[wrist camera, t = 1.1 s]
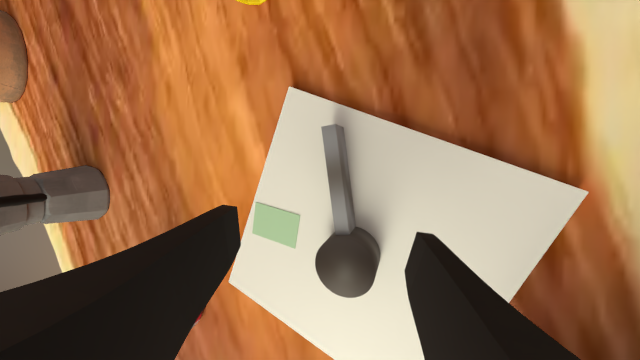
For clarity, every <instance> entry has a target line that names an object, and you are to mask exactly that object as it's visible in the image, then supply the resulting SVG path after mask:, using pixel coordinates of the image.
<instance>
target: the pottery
mask: <svg viewBox="0 0 640 360" xmlns="http://www.w3.org/2000/svg"><path fill="white" fill-rule="evenodd" d="M27 78H28V59H27V51H26V46H25V42H24V39H23V35H22V32H21V30H20V28H19V26H18V25H17V23H16V21H15V20H14V19H13V18H12V17H11V16H10V15H9V14H8V13H7V12H4V11H1V10H0V102H9V103H13V102H15V101H17V100H19V99H20V98H21V96H22V94H23V93H24V91H25V87H26V83H27Z"/></svg>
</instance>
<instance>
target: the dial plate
mask: <svg viewBox="0 0 640 360" xmlns="http://www.w3.org/2000/svg"><path fill="white" fill-rule="evenodd" d="M333 124H337V125H339V126H342V127H344V134H345V142H346V150H347V159H348V167H349V175H350V183H351V191H352V199H353V207H354V215H355V223H356V227H359V228H362V229H364V230H366V231H367V232H369V233H370V234H371V235H372V236H373V237H374V239H375V240H376V242H377V243H378V246H379V249H380V262H379V266H378V270H377V273H376V277H375V280H374V283H373V285H372V287H371V289H370V290H369V291H368V292H367V293H365V294H364V295H362V296H359V297H356V298H346V297H342V296H339V295H336V294H334V293H333V292H331V291H330V290H329V289H327V288H326V287H325V286H324V285H323V283H322V282H321V280H320V279H319V277H318V275H317V272H316V267H315V258H316V254H317V251H318V249H319V248H320V247H321V246H322V244H323V243H324V242H325V241H326V240H327V239H328V238H329V237H330V236H331V235H332V234H333V233H334V232H335V229H334V221H333V213H332V206H331V198H330V190H329V182H328V175H327V167H326V159H325V152H324V144H323V136H322V129H321V127H323V126H328V125H333ZM587 194H588V191H585V190H582V189H579V188H576V187H573V186H571V185H568V184H565V183H562V182H559V181H556V180H554V179H551V178H548V177H545V176H542V175H539V174H537V173H534V172H531V171H528V170H525V169H522V168H520V167H517V166H514V165H511V164H508V163H505V162H502V161H500V160H497V159H494V158H491V157H488V156H485V155H483V154H480V153H477V152H474V151H471V150H468V149H466V148H463V147H460V146H457V145H454V144H451V143H449V142H446V141H443V140H440V139H437V138H434V137H432V136H429V135H426V134H423V133H420V132H417V131H415V130H412V129H409V128H406V127H403V126H400V125H398V124H395V123H392V122H389V121H386V120H383V119H381V118H378V117H375V116H372V115H369V114H366V113H364V112H361V111H358V110H355V109H352V108H349V107H346V106H344V105H341V104H338V103H335V102H332V101H329V100H327V99H324V98H321V97H318V96H315V95H312V94H310V93H307V92H304V91H301V90H298V89H295V88H293V87H290V86H289V88H288V91H287V95H286V98H285V101H284V104H283V108H282V111H281V114H280V117H279V121H278V124H277V127H276V130H275V133H274V137H273V140H272V143H271V146H270V150H269V153H268V156H267V159H266V163H265V166H264V169H263V172H262V175H261V179H260V182H259V185H258V188H257V192H256V195H255V198H254V201H253V205H252V208H251V211H250V214H249V217H248V221H247V224H246V227H245V230H244V234H243V237H242V240H241V246H240V249H239V251H238V253H237V256H236V259H235V263H234V266H233V269H232V272H231V276H230V279H229V283H231V284H232V285H233V286H235V287H236V288H237V289H239V290H240V291H242V292H243V293H244V294H246V295H247V296H248V297H250V298H251V299H252V300H254V301H255V302H257V303H258V304H259V305H261V306H262V307H263V308H265V309H266V310H268V311H269V312H270V313H272V314H273V315H274V316H276V317H277V318H278V319H280V320H281V321H283V322H284V323H285V324H287V325H288V326H289V327H291V328H292V329H293V330H295V331H296V332H298V333H299V334H300V335H302V336H303V337H304V338H306V339H307V340H308V341H310V342H311V343H313V344H314V345H315V346H317V347H318V348H319V349H321V350H322V351H324V352H325V353H326V354H328V355H329V356H330V357H332V358H333V359H334V360H425V358H424V355H423V351H422V347H421V344H420V340H419V336H418V333H417V329H416V325H415V322H414V318H413V314H412V310H411V306H410V303H409V299H408V293H407V287H406V280H405V272H404V270H405V267H406V264H407V261H408V258H409V255H410V251H411V248H412V245H413V242H414V239H415V236H416V233H417V232H423V233H430V234H434V235H435V236H436V237H438V238H439V239H440V240H441V241H442V242H443V243H444V244H445V245H446V246H447V247H448V248H449V249H450V250H451V251H452V252H453V253H454V254H455V255H457V256H458V257H459V258H460V259H461V260H462V261H463V262H464V263H465V264H466V265H467V266H468V267H469V268H470V269H471V270H472V271H473V272H474V273H475V274H477V275H478V276H479V277H480V278H481V279H482V280H483V281H484V282H485V283H486V284H487V285H489V286H490V287H491V288H492V289H493V290H494V291H495V292H496V293H498V294H499V295H500V296H501V297H502V298H503V299H505V300H506V301H507V302H508V303H509V302H510V300H511V299H512V298H513V296H514V295H515V294H516V292H517V291H518V289H519V288H520V287H521V285H522V284H523V282H524V281H525V280H526V278H527V277H528V276H529V274H530V273H531V271H532V270H533V269H534V267H535V266H536V264H537V263H538V262H539V260H540V259H541V258H542V256H543V255H544V253H545V252H546V251H547V249H548V248H549V246H550V245H551V244H552V242H553V241H554V240H555V238H556V237H557V235H558V234H559V233H560V231H561V230H562V228H563V227H564V226H565V224H566V223H567V222H568V220H569V219H570V217H571V216H572V215H573V213H574V212H575V210H576V209H577V208H578V206H579V205H580V204H581V202H582V201H583V199H584V198H585V197H586V195H587Z"/></svg>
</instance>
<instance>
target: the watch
mask: <svg viewBox="0 0 640 360" xmlns="http://www.w3.org/2000/svg"><path fill="white" fill-rule="evenodd" d="M236 1H239V2H241V3H244V4H248V5H260V4H262V3H263V2H265V1H266V0H236Z"/></svg>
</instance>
